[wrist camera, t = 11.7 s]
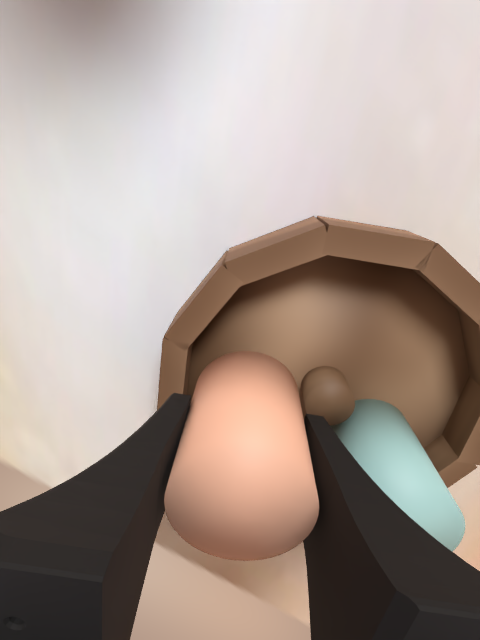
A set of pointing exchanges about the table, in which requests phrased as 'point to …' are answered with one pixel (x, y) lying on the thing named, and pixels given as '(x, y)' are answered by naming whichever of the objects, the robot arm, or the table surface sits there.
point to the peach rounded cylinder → (243, 462)
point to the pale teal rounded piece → (401, 468)
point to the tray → (346, 328)
